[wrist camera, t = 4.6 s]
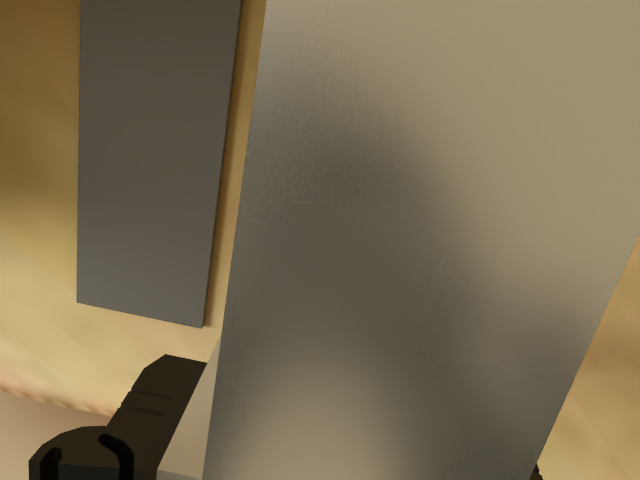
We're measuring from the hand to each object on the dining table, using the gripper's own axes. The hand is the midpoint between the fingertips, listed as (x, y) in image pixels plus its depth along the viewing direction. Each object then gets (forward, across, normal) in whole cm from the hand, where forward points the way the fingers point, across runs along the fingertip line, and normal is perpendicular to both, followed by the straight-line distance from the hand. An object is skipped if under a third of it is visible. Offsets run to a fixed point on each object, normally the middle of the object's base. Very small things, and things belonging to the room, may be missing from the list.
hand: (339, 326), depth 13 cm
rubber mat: (+25, -14, 0) cm, 28 cm away
